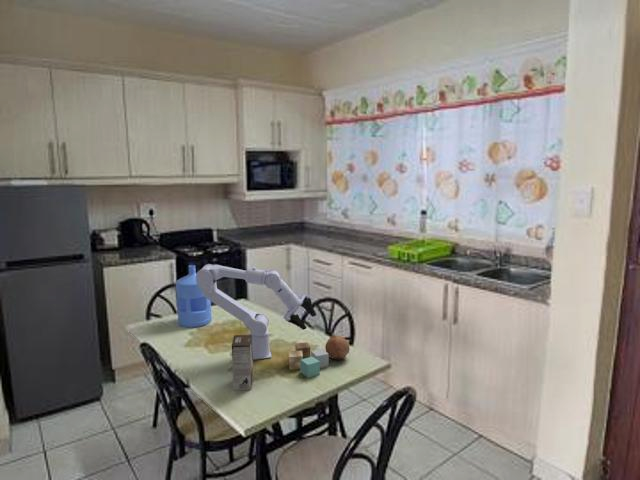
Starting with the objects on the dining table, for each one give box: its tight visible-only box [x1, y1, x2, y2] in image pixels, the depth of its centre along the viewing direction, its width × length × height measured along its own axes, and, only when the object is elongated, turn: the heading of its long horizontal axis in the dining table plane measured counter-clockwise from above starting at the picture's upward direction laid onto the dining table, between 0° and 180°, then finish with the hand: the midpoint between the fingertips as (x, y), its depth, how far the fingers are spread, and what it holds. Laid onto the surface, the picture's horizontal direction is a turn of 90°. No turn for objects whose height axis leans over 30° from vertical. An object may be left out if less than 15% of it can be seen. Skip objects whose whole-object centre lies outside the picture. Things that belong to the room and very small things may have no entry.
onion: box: [324, 334, 350, 361], centre depth 171 cm, size 10×9×10 cm
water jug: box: [175, 264, 212, 328], centre depth 209 cm, size 16×16×28 cm
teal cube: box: [300, 356, 321, 379], centre depth 159 cm, size 5×5×5 cm
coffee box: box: [231, 334, 254, 391], centre depth 150 cm, size 9×6×16 cm
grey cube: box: [310, 348, 330, 369], centre depth 165 cm, size 5×5×5 cm
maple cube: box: [288, 350, 303, 370], centre depth 164 cm, size 5×5×5 cm
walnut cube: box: [294, 342, 311, 359], centre depth 172 cm, size 5×5×5 cm
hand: (309, 322), depth 173 cm, fingers open, 7 cm apart
